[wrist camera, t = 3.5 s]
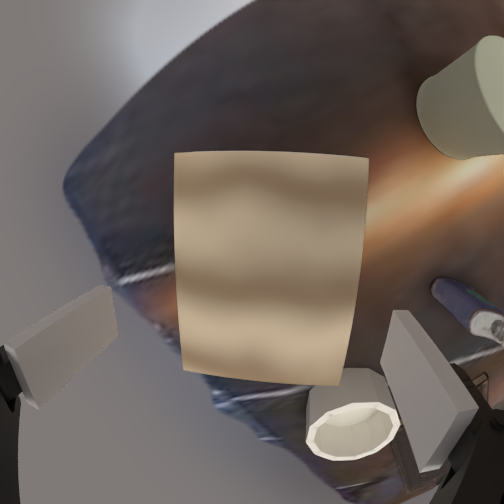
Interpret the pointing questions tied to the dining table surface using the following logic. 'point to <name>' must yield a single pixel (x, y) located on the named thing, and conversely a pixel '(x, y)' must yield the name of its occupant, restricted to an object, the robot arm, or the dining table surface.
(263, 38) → the dining table surface
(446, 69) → the can
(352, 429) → the bowl
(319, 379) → the wavy beige panel
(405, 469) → the hardcover book
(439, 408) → the robot arm
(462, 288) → the flask
